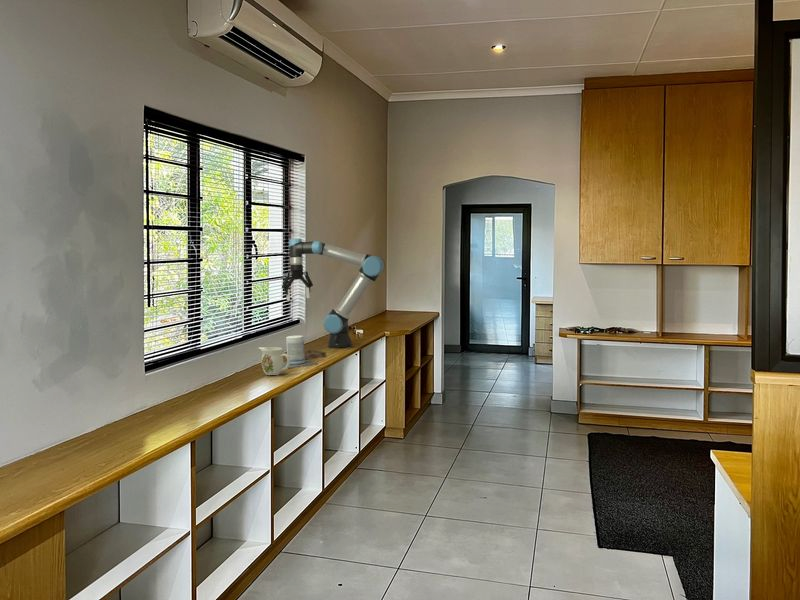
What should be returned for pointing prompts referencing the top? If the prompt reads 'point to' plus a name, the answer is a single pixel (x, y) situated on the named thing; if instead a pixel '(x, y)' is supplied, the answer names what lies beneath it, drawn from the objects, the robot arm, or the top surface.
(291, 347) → the supplement tub
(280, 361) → the pitcher
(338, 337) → the robot arm
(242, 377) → the top surface
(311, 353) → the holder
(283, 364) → the pad
